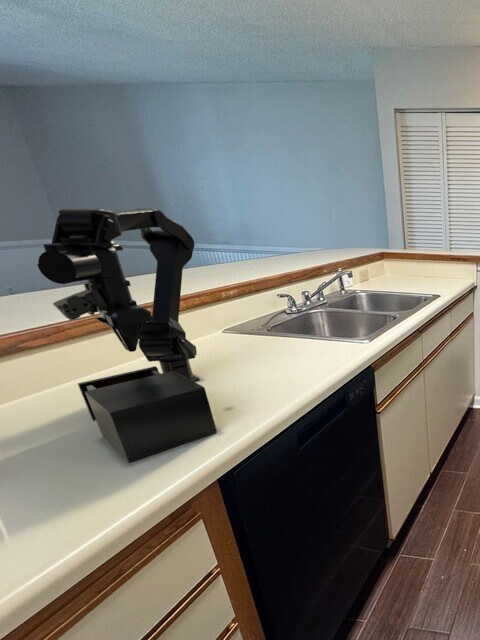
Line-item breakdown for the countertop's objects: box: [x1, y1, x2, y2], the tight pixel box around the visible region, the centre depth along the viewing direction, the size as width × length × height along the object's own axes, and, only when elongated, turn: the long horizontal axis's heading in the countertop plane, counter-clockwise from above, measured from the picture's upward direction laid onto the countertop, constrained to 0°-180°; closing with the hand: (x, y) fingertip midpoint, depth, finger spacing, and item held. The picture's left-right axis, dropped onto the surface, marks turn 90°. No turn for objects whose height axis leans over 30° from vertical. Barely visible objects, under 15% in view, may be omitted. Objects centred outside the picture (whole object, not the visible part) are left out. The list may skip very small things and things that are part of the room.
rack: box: [77, 365, 162, 422], centre depth 84 cm, size 15×12×8 cm
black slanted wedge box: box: [85, 371, 218, 464], centre depth 79 cm, size 15×14×10 cm
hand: (131, 350), depth 90 cm, fingers closed
